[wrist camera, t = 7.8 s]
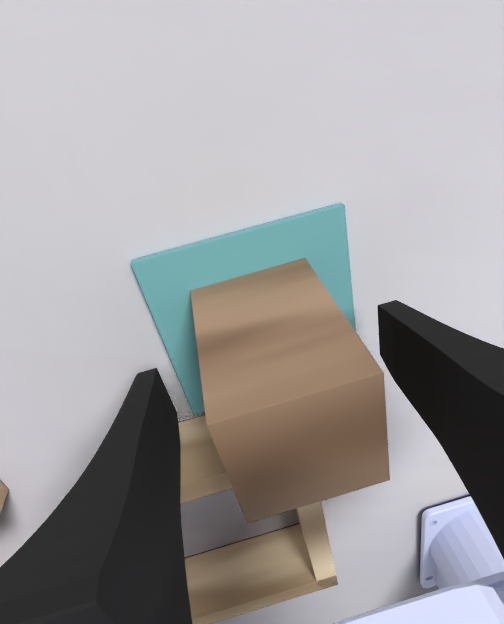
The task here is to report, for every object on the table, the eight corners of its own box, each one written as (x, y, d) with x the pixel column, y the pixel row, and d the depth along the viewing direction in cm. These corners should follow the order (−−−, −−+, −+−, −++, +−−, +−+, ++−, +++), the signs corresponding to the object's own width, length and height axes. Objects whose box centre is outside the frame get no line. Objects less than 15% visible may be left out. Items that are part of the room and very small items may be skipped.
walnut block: (319, 347, 16) (390, 480, 11) (221, 376, 16) (247, 523, 11) (304, 257, 14) (383, 373, 9) (190, 290, 14) (206, 425, 9)
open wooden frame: (319, 528, 24) (337, 584, 21) (5, 622, 23) (-14, 693, 21) (288, 391, 18) (309, 447, 15) (-139, 514, 17) (-190, 594, 15)
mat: (356, 362, 18) (359, 367, 17) (193, 409, 17) (193, 414, 17) (341, 202, 14) (344, 205, 13) (131, 259, 13) (130, 263, 13)
